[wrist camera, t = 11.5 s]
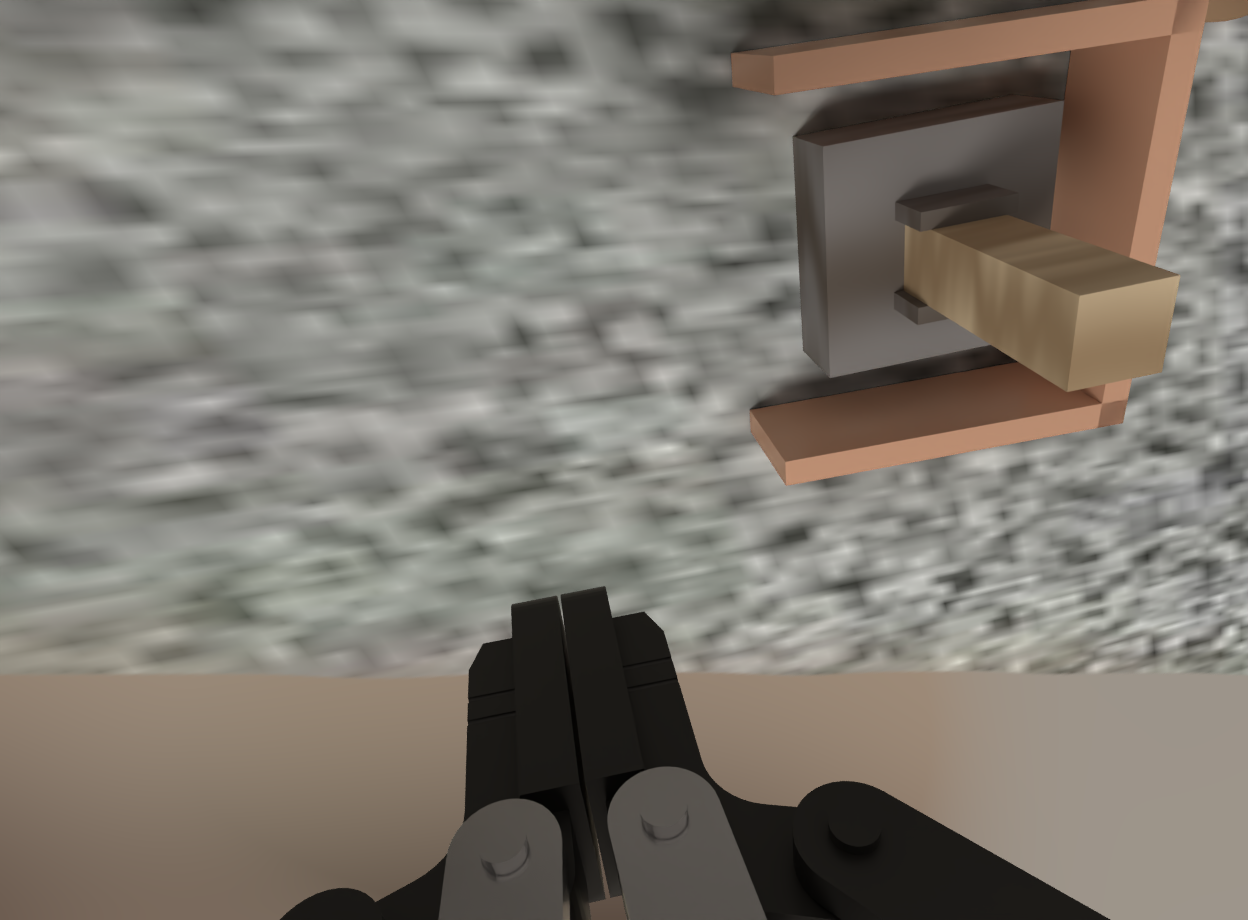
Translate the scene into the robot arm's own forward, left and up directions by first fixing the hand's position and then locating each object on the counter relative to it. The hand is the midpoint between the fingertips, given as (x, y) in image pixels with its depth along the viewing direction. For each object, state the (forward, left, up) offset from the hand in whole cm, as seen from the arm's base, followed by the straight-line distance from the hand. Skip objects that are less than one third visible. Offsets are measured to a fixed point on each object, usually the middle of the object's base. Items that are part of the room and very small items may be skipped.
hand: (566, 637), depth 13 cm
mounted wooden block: (0, +14, -19) cm, 23 cm away
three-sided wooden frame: (0, +14, -18) cm, 23 cm away
